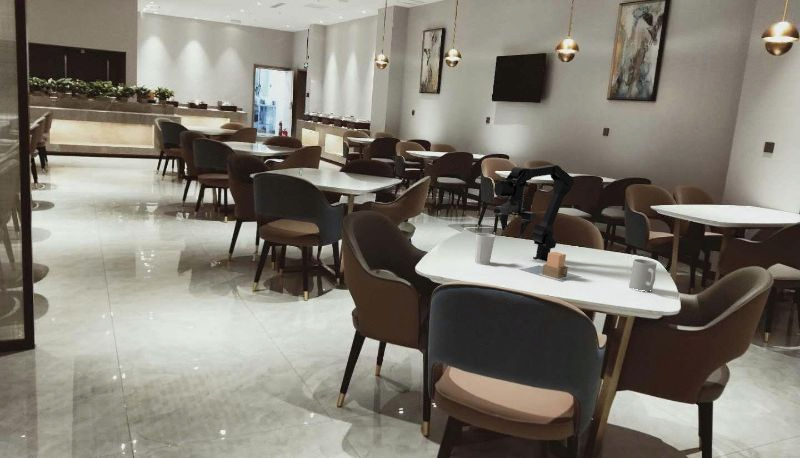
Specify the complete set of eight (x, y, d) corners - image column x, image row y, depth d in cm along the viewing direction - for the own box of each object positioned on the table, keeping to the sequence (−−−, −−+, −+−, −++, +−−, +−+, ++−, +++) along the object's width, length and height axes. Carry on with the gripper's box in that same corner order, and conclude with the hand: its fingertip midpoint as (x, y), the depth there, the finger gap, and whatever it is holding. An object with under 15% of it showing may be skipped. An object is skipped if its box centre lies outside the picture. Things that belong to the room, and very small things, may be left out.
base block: (551, 272, 247) (552, 262, 247) (566, 276, 243) (567, 266, 242) (541, 274, 242) (543, 264, 242) (557, 278, 238) (558, 268, 237)
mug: (624, 285, 240) (629, 258, 238) (644, 286, 242) (649, 259, 240) (640, 294, 229) (645, 266, 227) (661, 295, 230) (666, 267, 228)
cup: (491, 266, 251) (494, 237, 249) (472, 263, 253) (475, 235, 251) (492, 261, 259) (495, 234, 257) (473, 259, 260) (476, 232, 258)
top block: (553, 263, 245) (554, 251, 244) (564, 266, 242) (566, 254, 241) (546, 265, 242) (548, 252, 241) (557, 268, 238) (559, 255, 237)
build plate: (539, 266, 259) (539, 265, 258) (582, 278, 245) (582, 276, 245) (518, 271, 247) (518, 269, 247) (561, 283, 234) (562, 281, 233)
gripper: (487, 193, 260) (483, 229, 263) (524, 201, 247) (519, 238, 250) (502, 193, 268) (498, 227, 271) (539, 200, 255) (534, 236, 258)
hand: (512, 232), depth 262 cm, fingers open, 9 cm apart
